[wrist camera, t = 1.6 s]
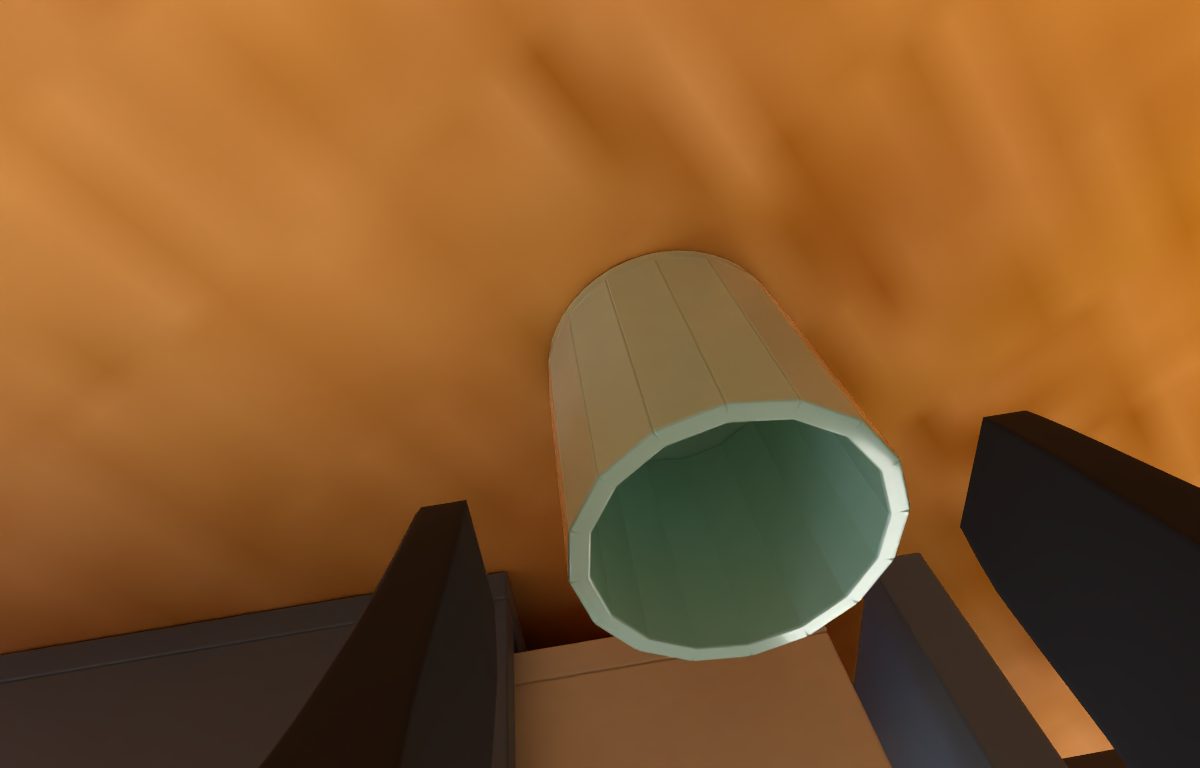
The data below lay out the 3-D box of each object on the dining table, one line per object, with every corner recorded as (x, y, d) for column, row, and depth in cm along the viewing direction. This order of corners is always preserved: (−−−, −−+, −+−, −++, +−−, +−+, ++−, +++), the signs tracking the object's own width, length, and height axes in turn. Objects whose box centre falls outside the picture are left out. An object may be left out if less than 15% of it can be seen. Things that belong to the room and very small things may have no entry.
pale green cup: (806, 410, 15) (928, 594, 11) (600, 488, 15) (637, 697, 11) (749, 208, 12) (879, 344, 8) (507, 309, 13) (509, 486, 9)
